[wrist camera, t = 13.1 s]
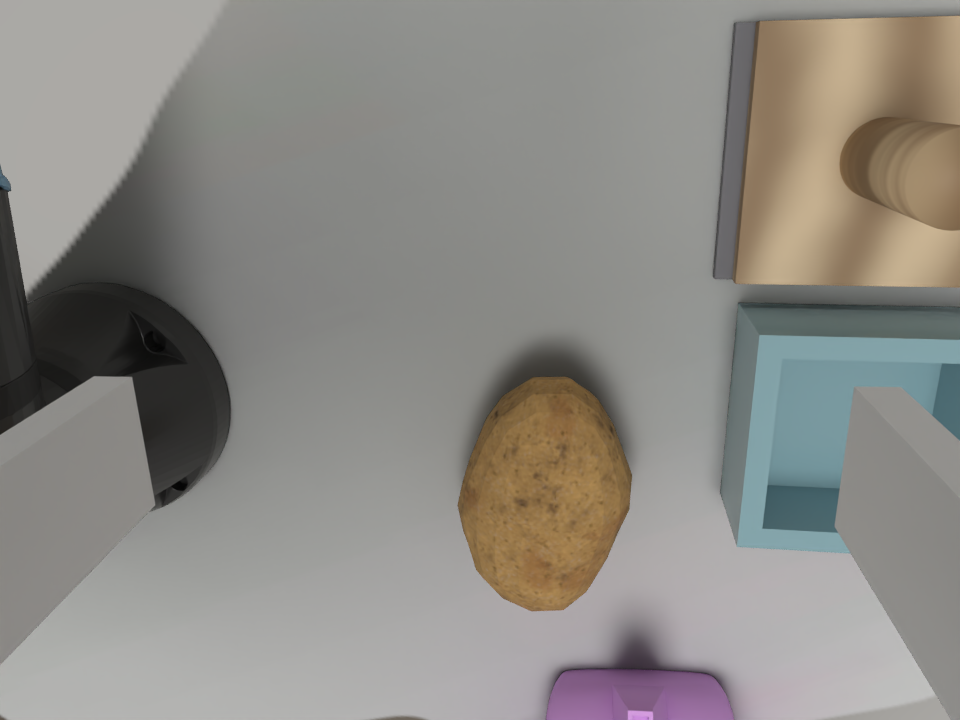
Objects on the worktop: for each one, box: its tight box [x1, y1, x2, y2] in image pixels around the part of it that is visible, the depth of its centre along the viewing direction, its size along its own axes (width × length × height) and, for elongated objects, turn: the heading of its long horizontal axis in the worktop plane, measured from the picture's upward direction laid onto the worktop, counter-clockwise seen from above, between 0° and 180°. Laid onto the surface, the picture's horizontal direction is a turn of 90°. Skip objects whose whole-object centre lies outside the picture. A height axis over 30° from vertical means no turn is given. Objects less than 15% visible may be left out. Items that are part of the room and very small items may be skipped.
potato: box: [458, 377, 632, 611], centre depth 45 cm, size 10×14×8 cm
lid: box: [732, 16, 960, 287], centre depth 36 cm, size 13×13×10 cm
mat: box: [713, 22, 756, 279], centre depth 40 cm, size 15×13×1 cm
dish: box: [720, 303, 960, 553], centre depth 43 cm, size 12×12×6 cm
